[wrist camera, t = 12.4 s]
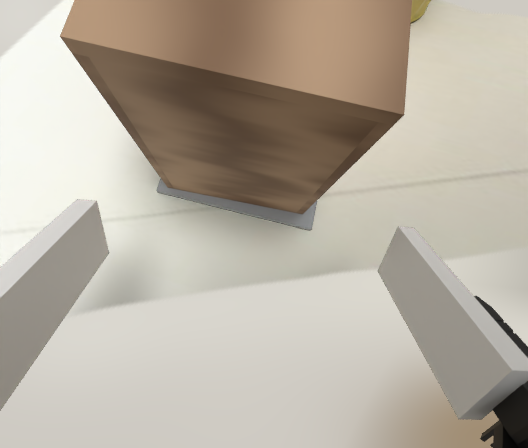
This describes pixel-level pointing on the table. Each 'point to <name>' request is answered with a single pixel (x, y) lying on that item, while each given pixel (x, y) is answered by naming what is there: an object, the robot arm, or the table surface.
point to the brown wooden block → (248, 88)
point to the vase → (418, 8)
